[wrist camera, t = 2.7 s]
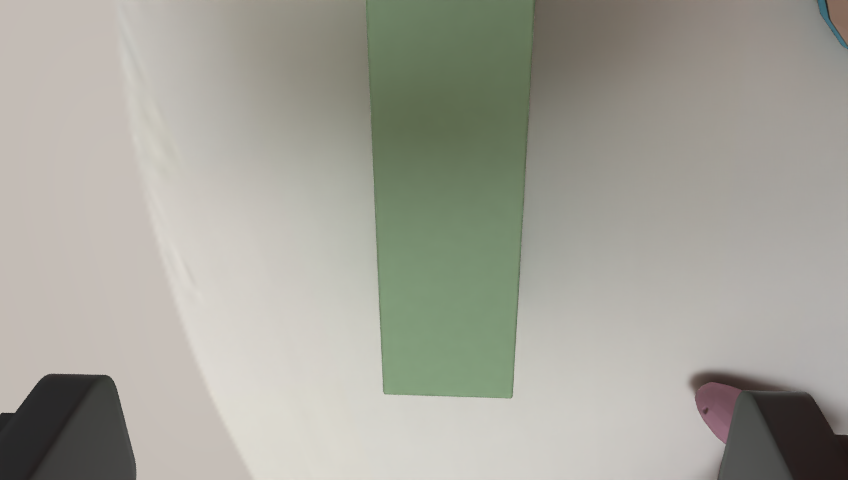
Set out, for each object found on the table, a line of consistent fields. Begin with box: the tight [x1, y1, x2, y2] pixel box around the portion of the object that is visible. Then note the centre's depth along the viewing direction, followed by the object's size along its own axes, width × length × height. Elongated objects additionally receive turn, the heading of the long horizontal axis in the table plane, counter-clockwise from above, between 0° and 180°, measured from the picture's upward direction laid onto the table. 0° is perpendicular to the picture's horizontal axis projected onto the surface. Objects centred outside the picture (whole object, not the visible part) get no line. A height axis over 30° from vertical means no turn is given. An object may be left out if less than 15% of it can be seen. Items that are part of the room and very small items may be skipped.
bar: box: [366, 0, 535, 398], centre depth 20 cm, size 14×4×4 cm, turn 1°
